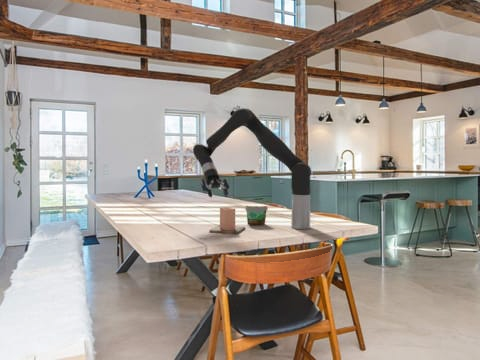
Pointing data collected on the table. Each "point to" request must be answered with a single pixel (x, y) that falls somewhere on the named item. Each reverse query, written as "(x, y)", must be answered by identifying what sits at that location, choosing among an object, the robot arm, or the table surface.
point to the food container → (256, 215)
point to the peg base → (232, 231)
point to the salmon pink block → (227, 218)
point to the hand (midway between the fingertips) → (219, 196)
